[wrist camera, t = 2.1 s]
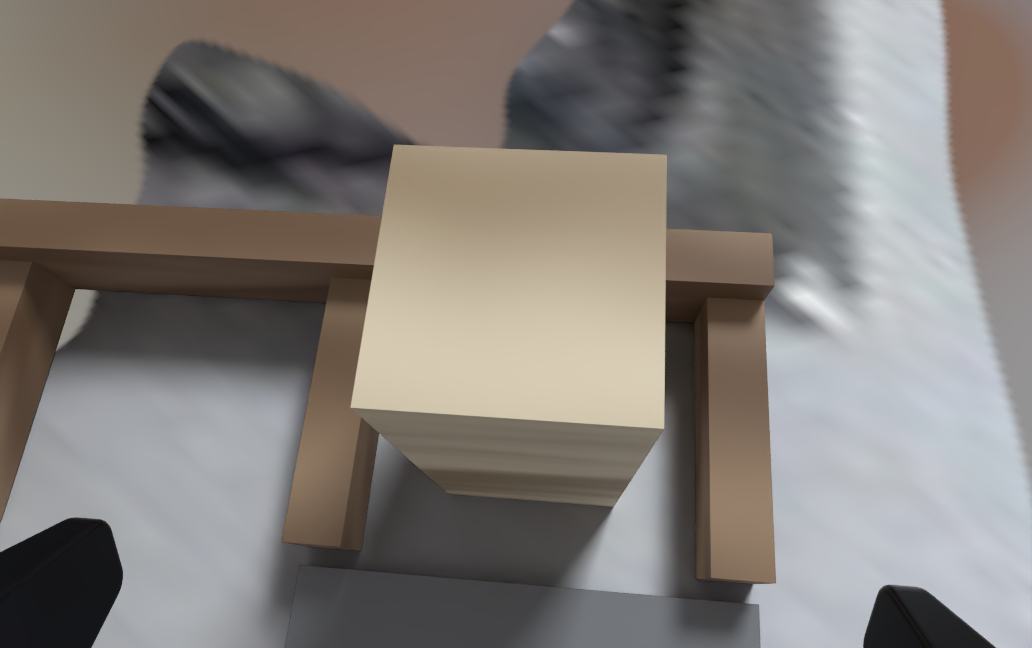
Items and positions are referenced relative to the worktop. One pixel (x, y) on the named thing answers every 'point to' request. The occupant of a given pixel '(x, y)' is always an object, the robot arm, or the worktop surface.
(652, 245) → the beech block
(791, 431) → the worktop surface
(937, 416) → the worktop surface
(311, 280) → the lane rack
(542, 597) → the rubber mat
